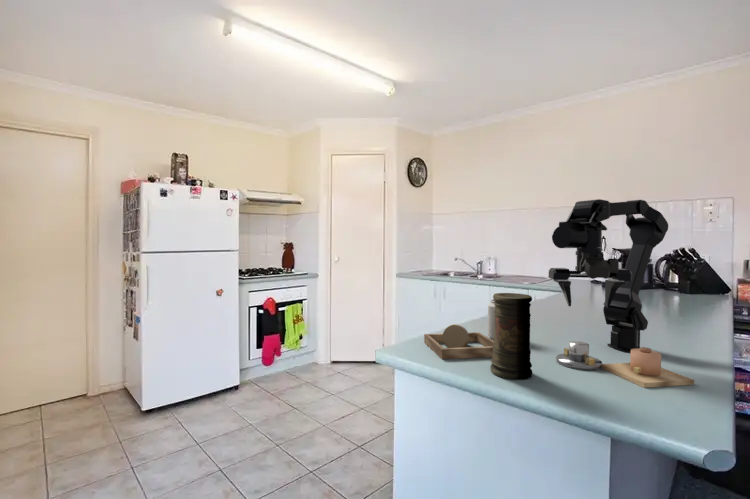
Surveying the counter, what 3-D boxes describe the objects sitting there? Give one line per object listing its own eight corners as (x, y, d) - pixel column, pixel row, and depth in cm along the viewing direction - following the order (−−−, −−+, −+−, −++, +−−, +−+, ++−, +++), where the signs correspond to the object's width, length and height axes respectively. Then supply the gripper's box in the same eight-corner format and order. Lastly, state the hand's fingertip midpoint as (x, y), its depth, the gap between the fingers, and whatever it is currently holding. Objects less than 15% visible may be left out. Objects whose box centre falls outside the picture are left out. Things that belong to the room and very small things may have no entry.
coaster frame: (478, 340, 116) (478, 332, 116) (504, 356, 100) (504, 346, 100) (424, 342, 113) (424, 334, 113) (441, 359, 97) (441, 349, 97)
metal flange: (582, 356, 100) (583, 337, 100) (612, 369, 90) (612, 348, 90) (547, 358, 99) (548, 338, 98) (573, 371, 89) (573, 350, 89)
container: (486, 366, 92) (486, 292, 92) (523, 366, 92) (524, 292, 91) (496, 380, 83) (497, 297, 83) (538, 380, 83) (539, 298, 82)
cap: (668, 372, 85) (669, 349, 85) (649, 378, 81) (650, 354, 81) (641, 365, 90) (641, 343, 90) (622, 370, 86) (622, 347, 86)
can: (509, 336, 121) (510, 298, 121) (516, 342, 114) (516, 302, 114) (485, 335, 122) (485, 298, 122) (490, 341, 115) (490, 301, 114)
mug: (474, 344, 112) (477, 319, 107) (461, 366, 105) (464, 340, 100) (450, 335, 116) (452, 310, 111) (436, 356, 109) (438, 330, 104)
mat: (645, 365, 93) (645, 361, 93) (694, 384, 81) (694, 379, 81) (601, 368, 91) (601, 364, 91) (643, 387, 79) (644, 382, 79)
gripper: (559, 248, 95) (559, 311, 95) (643, 248, 91) (642, 313, 91) (548, 247, 105) (547, 303, 106) (622, 247, 102) (621, 305, 102)
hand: (588, 306), depth 101 cm, fingers open, 9 cm apart
